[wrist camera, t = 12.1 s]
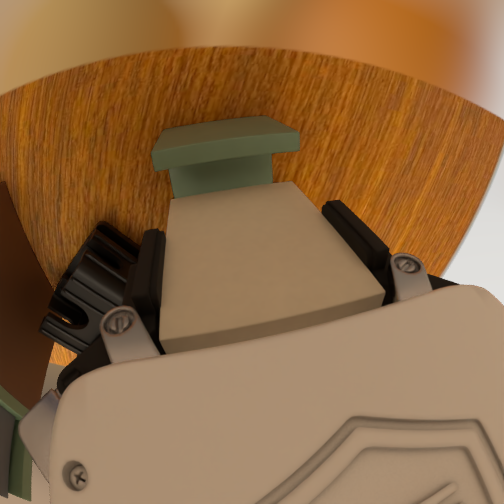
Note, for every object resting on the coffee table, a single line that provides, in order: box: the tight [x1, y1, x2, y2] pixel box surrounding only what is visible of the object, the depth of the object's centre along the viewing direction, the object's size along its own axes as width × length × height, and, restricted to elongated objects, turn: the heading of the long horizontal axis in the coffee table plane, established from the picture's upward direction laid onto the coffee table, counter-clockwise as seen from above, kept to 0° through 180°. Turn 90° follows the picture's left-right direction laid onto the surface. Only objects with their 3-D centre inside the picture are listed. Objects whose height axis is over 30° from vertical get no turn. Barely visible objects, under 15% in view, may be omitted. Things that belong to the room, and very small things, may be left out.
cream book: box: [159, 181, 386, 355], centre depth 11 cm, size 2×6×9 cm, turn 94°
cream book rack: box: [151, 116, 300, 199], centre depth 18 cm, size 16×7×10 cm, turn 4°
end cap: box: [38, 221, 141, 357], centre depth 20 cm, size 10×7×7 cm
